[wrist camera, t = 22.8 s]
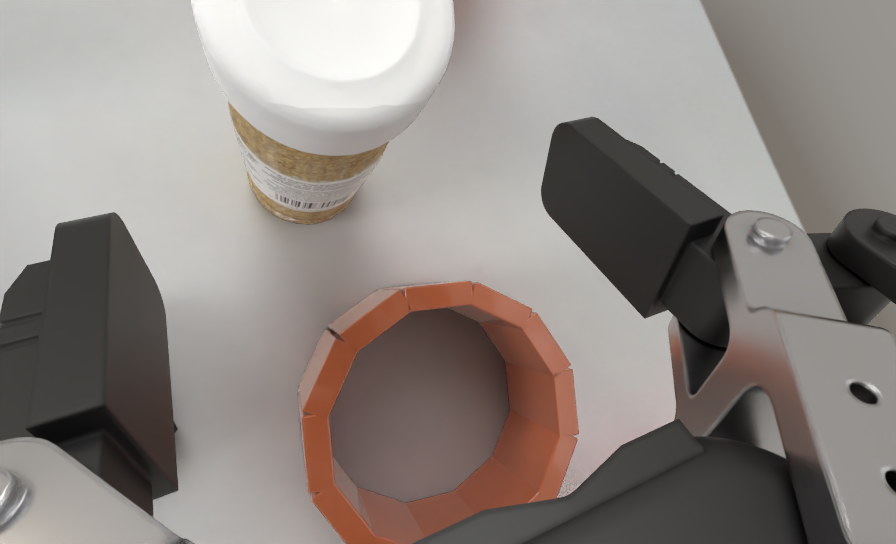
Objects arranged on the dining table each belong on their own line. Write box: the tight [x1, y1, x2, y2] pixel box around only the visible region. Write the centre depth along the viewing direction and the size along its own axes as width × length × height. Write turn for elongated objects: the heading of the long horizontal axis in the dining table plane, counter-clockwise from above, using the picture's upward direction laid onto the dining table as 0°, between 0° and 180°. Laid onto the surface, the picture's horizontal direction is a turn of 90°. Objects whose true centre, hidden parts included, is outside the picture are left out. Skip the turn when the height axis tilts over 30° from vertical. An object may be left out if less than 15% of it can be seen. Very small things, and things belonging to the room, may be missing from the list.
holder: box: [298, 281, 579, 544], centre depth 20 cm, size 10×10×4 cm
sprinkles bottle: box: [191, 0, 455, 224], centre depth 15 cm, size 5×5×13 cm
